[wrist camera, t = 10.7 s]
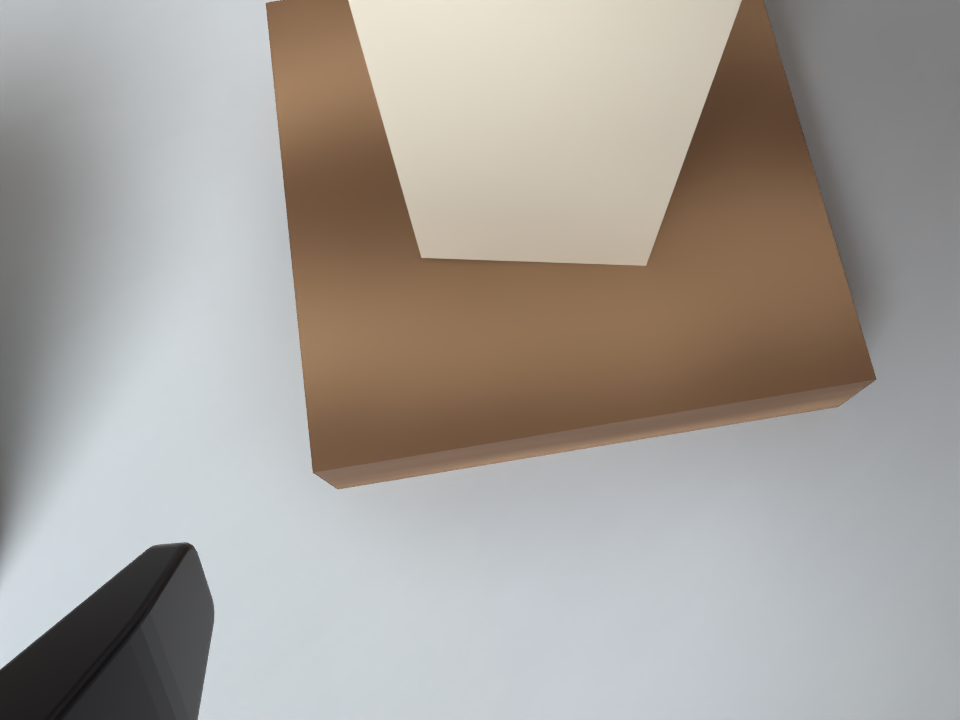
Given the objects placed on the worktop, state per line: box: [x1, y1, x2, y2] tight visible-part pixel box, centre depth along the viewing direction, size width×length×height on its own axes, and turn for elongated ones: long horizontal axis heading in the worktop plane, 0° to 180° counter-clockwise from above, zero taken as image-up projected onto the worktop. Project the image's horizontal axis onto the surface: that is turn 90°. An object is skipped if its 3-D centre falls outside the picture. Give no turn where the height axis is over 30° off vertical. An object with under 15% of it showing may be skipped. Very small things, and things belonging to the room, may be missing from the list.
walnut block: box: [266, 0, 876, 489], centre depth 22 cm, size 12×12×3 cm
